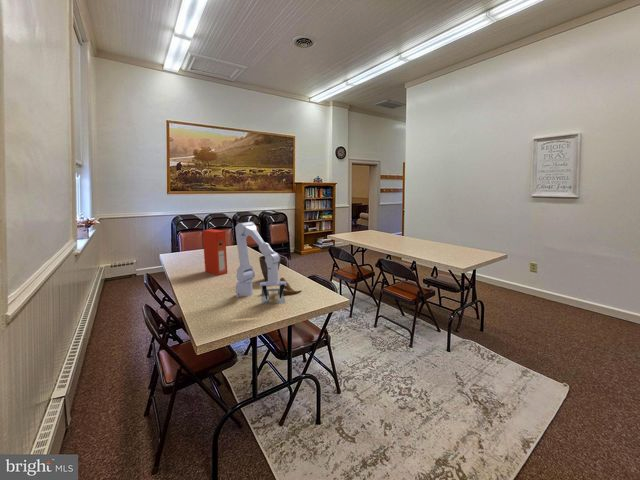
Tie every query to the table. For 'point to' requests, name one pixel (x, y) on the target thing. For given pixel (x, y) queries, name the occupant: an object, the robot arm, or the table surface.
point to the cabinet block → (273, 296)
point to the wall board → (266, 301)
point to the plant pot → (265, 267)
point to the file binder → (215, 251)
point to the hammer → (289, 289)
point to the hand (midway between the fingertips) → (273, 298)
